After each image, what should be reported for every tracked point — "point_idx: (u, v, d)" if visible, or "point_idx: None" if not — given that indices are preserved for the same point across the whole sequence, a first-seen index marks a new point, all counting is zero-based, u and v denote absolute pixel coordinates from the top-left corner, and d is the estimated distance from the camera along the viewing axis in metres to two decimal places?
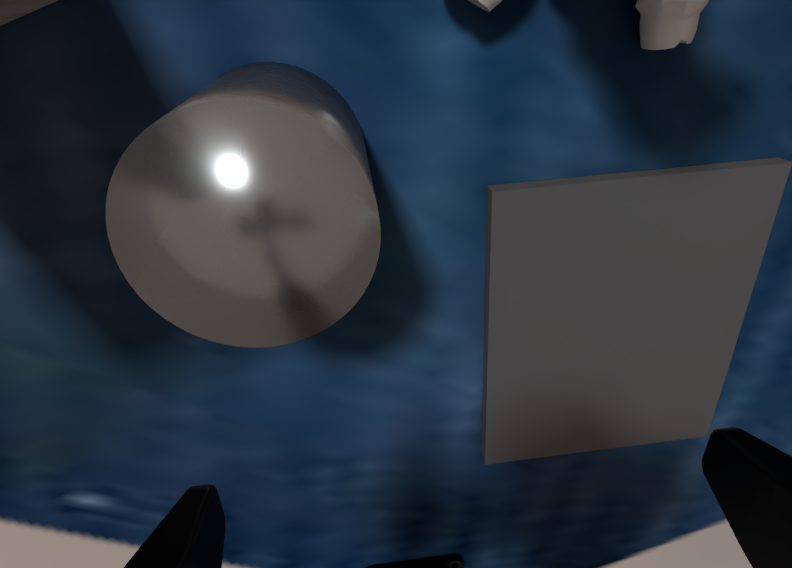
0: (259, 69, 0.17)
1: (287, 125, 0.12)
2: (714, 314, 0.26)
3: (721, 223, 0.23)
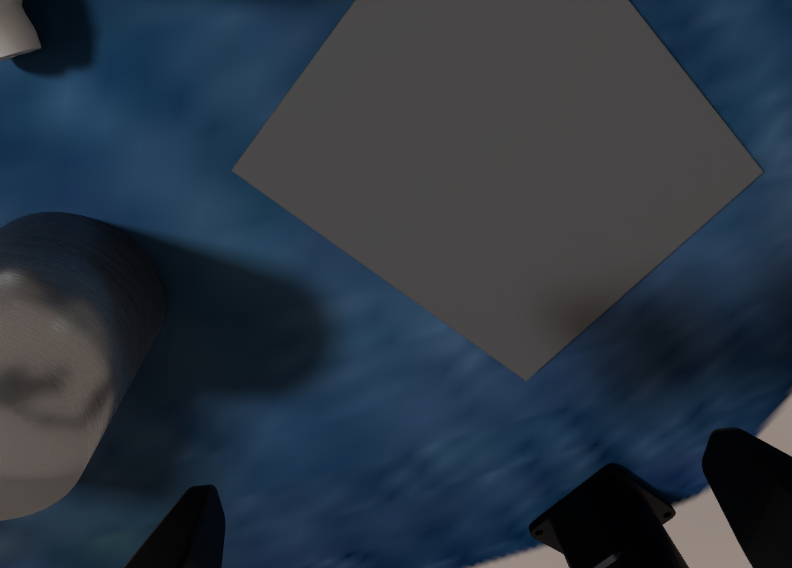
0: None
1: None
2: (602, 54, 0.18)
3: None
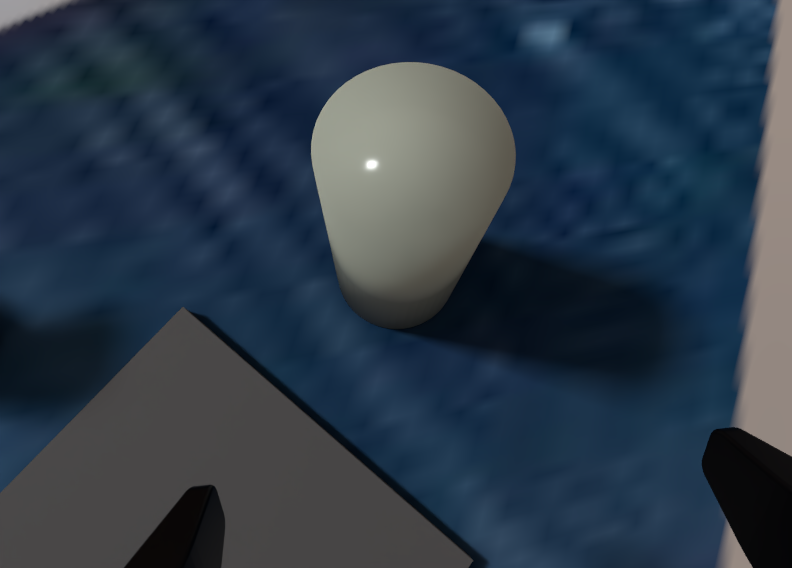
0: None
1: None
2: (283, 450, 0.21)
3: (182, 389, 0.22)
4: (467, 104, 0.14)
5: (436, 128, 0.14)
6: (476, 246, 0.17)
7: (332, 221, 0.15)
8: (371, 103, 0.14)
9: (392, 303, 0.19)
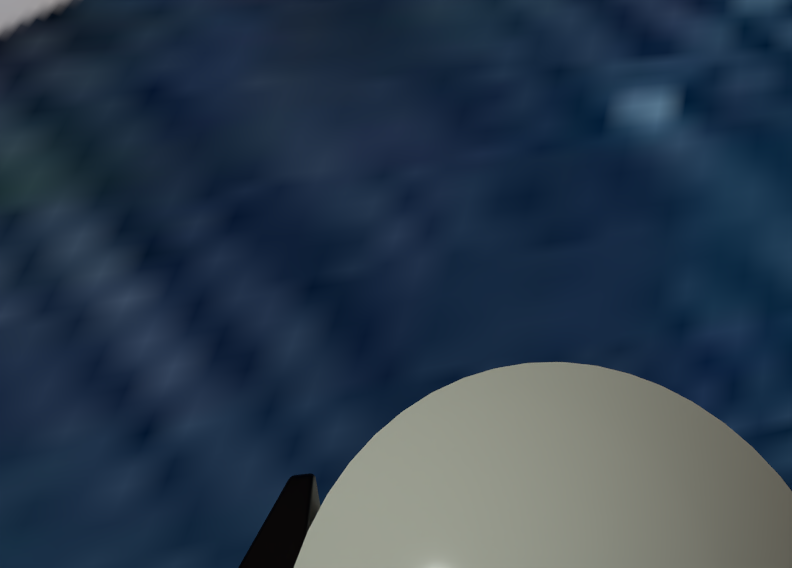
0: None
1: None
2: None
3: None
4: (711, 496, 0.05)
5: None
6: None
7: None
8: (447, 503, 0.05)
9: None
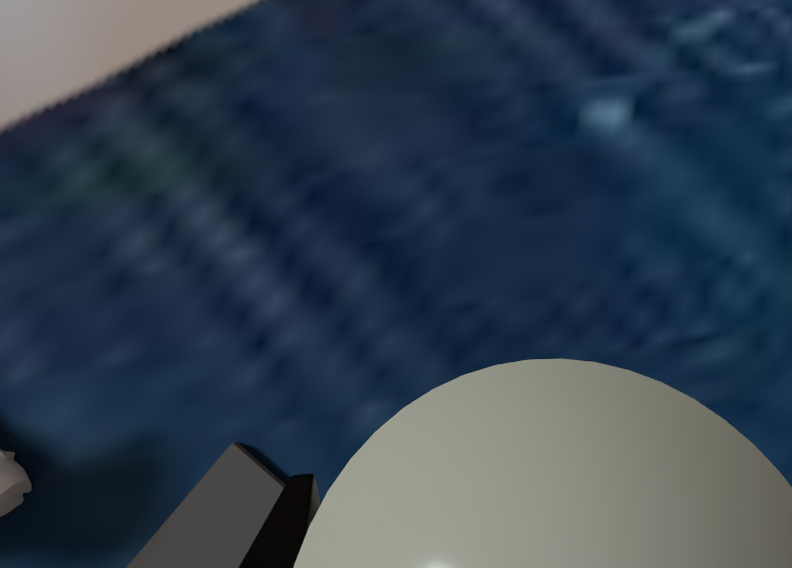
0: None
1: None
2: None
3: (235, 539, 0.20)
4: (712, 492, 0.05)
5: None
6: None
7: None
8: (448, 500, 0.05)
9: None
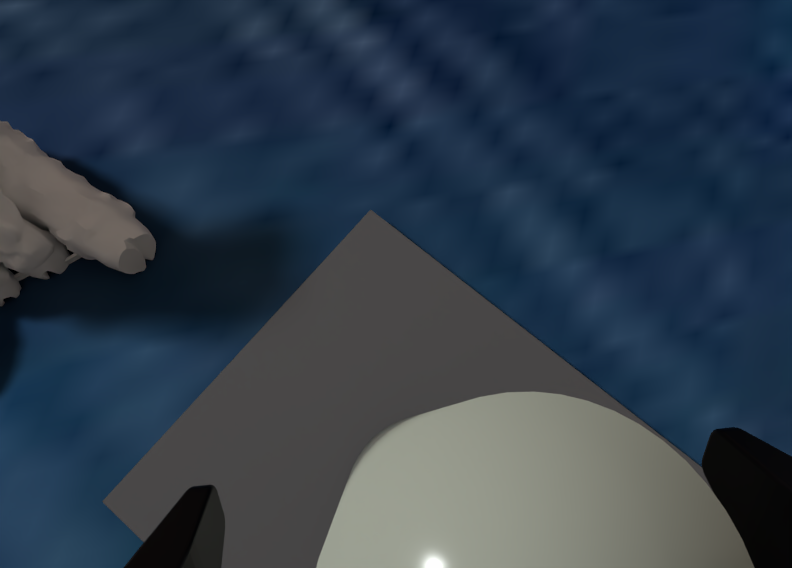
0: None
1: None
2: (506, 372, 0.18)
3: (380, 302, 0.18)
4: (652, 500, 0.07)
5: None
6: None
7: None
8: (441, 506, 0.06)
9: None
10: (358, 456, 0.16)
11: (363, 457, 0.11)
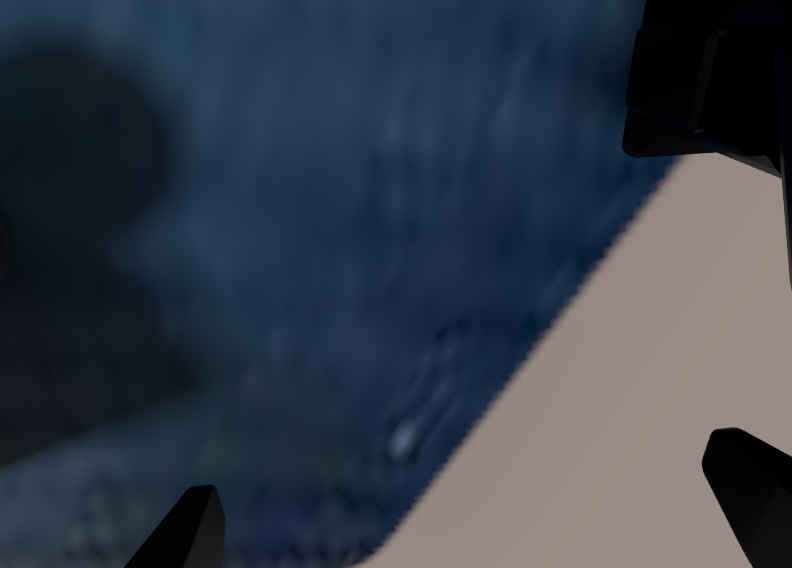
0: None
1: None
2: None
3: None
4: None
5: None
6: None
7: None
8: None
9: None
10: None
11: None
